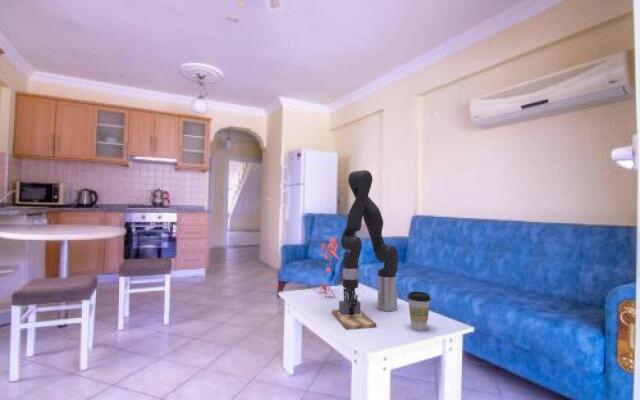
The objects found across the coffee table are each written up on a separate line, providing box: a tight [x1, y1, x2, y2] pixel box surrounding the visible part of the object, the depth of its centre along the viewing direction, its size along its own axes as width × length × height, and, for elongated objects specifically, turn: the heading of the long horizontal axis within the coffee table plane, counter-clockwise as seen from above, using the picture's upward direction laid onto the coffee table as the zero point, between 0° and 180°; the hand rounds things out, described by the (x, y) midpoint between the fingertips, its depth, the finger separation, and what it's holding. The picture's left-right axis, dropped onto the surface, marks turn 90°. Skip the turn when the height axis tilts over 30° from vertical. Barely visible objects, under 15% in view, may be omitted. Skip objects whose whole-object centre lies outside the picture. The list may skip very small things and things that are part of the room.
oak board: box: [331, 309, 377, 331], centre depth 154 cm, size 14×22×2 cm, turn 14°
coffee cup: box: [407, 291, 432, 332], centre depth 145 cm, size 10×10×15 cm
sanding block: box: [338, 299, 362, 317], centre depth 157 cm, size 10×5×6 cm, turn 104°
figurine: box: [318, 235, 340, 298], centre depth 198 cm, size 15×26×35 cm, turn 22°
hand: (349, 312), depth 157 cm, fingers closed on sanding block, 4 cm apart
